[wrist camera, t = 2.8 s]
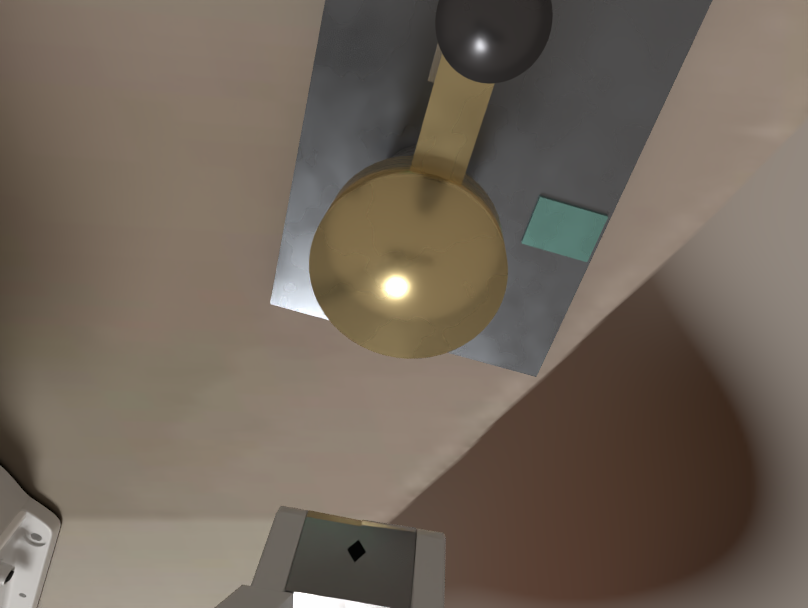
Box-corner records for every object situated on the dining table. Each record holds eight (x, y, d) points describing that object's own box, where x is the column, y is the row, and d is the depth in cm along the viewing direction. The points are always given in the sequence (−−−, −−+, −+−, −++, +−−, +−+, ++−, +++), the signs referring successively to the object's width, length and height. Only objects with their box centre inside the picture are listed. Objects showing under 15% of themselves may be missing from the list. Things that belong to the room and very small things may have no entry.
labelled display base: (534, 365, 36) (553, 463, 28) (276, 294, 35) (226, 376, 27) (721, -43, 25) (830, -57, 18) (359, -159, 24) (316, -223, 17)
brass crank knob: (469, 340, 25) (473, 450, 19) (310, 296, 25) (262, 394, 19) (600, 0, 19) (667, 5, 13) (388, -66, 18) (354, -93, 12)
